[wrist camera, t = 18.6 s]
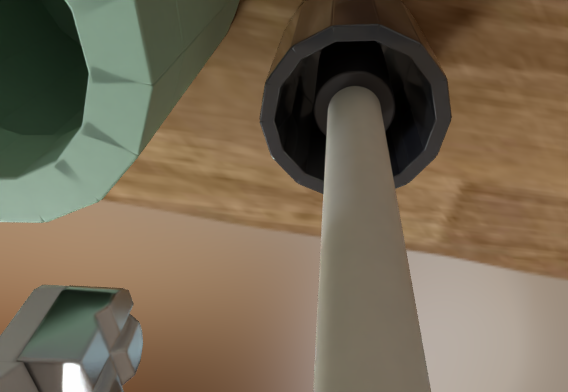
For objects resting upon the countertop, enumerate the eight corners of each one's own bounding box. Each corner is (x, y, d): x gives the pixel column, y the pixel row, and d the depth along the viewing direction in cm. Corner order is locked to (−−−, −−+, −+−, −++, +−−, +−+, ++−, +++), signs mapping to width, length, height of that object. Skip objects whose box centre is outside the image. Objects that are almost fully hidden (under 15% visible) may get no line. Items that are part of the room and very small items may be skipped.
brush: (317, 31, 21) (269, 379, 6) (386, 30, 20) (495, 389, 6) (319, 95, 22) (281, 493, 8) (382, 94, 22) (463, 505, 8)
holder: (276, -16, 20) (251, 28, 15) (428, -22, 20) (465, 21, 14) (284, 118, 24) (265, 197, 18) (415, 117, 23) (440, 199, 17)
